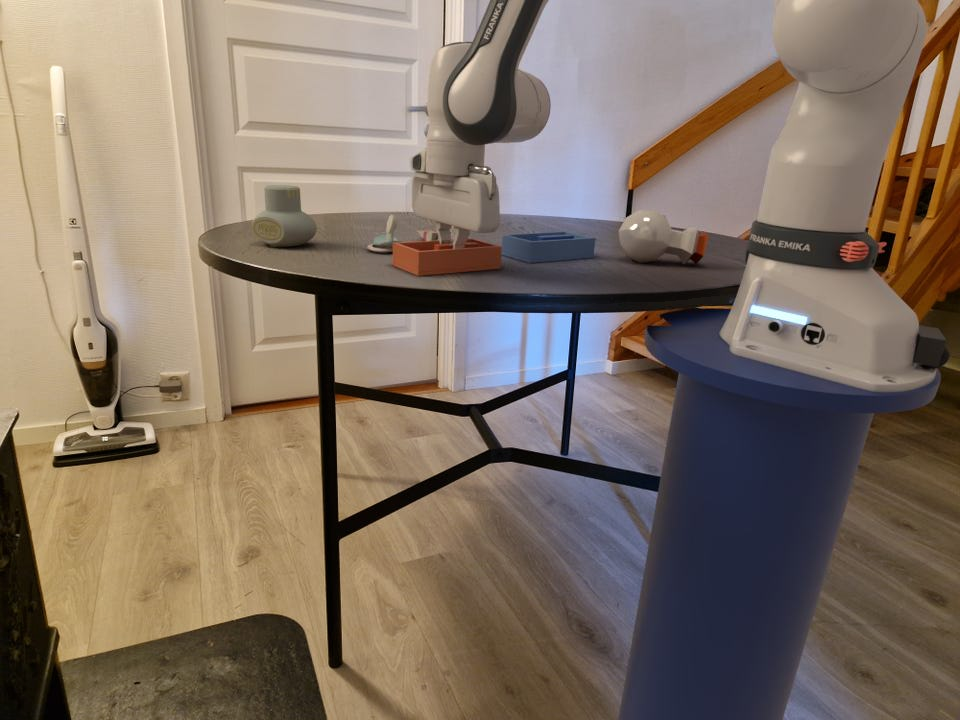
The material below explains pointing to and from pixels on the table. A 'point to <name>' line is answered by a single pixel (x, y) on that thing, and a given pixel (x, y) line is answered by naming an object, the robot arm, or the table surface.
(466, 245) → the orange stepped block
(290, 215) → the air freshener
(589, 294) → the table surface
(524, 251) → the blue tray
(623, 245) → the potion bottle
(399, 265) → the terracotta tray
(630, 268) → the table surface
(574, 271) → the table surface
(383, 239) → the pacifier
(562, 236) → the blue block with disc
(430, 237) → the wrapped snack bar
